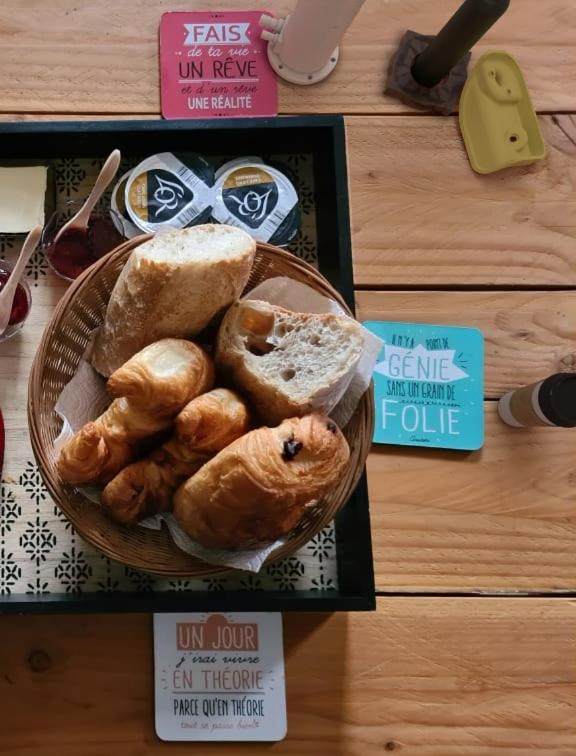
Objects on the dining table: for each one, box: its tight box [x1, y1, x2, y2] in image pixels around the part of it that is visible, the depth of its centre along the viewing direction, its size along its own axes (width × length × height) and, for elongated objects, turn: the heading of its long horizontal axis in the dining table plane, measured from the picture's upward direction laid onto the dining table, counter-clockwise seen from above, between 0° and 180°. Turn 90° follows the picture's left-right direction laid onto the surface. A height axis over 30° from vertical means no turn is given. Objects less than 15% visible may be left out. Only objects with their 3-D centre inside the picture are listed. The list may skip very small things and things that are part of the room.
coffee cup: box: [497, 371, 576, 429], centre depth 115 cm, size 8×8×15 cm
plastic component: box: [458, 49, 547, 175], centre depth 128 cm, size 20×7×10 cm
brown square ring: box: [382, 29, 473, 117], centre depth 130 cm, size 13×13×2 cm
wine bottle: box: [410, 0, 511, 88], centre depth 116 cm, size 6×6×30 cm
